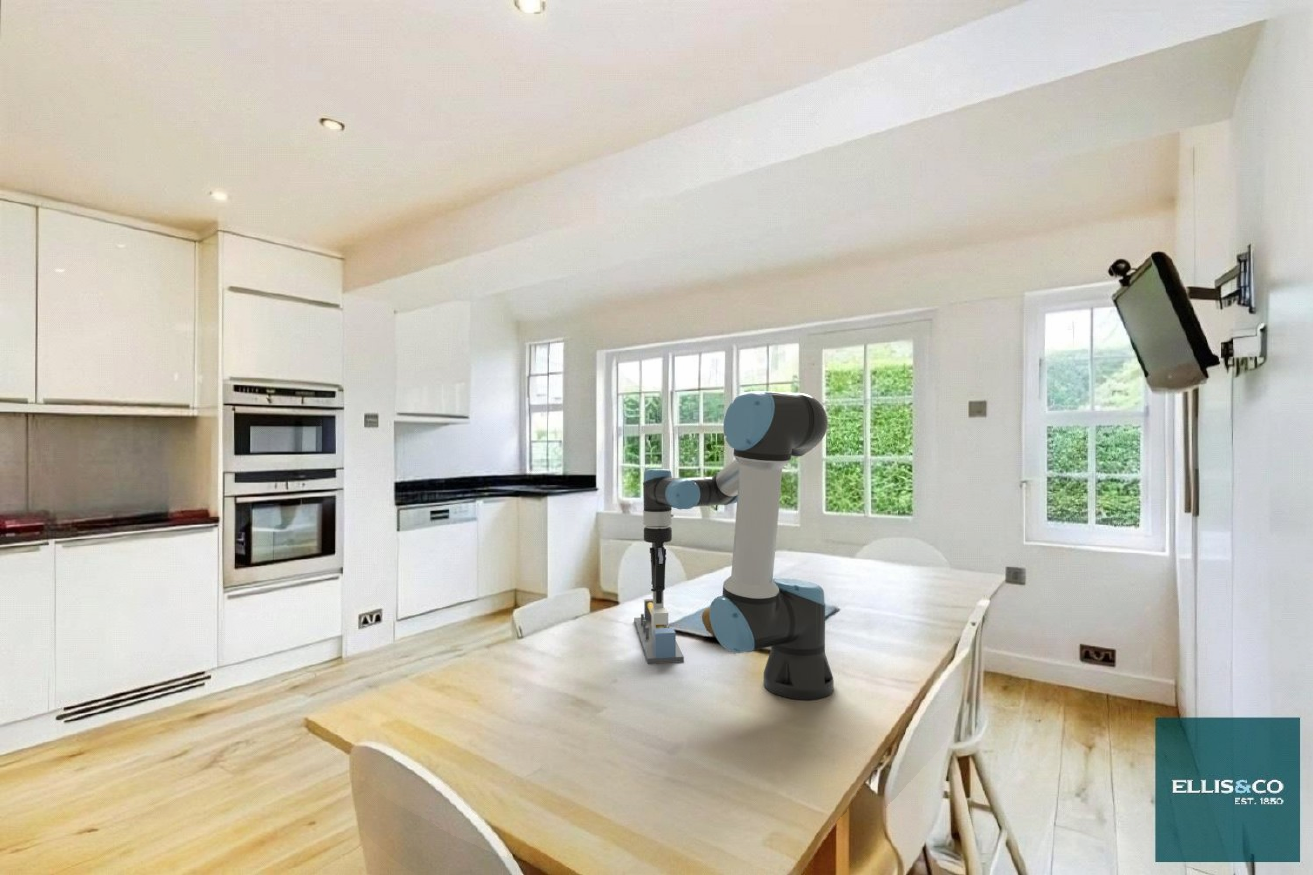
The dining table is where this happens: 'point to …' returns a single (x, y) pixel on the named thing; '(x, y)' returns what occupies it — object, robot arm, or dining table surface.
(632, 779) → the dining table surface
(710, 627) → the potato
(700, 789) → the dining table surface
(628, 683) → the dining table surface
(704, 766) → the dining table surface
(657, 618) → the sleeve
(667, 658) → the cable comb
